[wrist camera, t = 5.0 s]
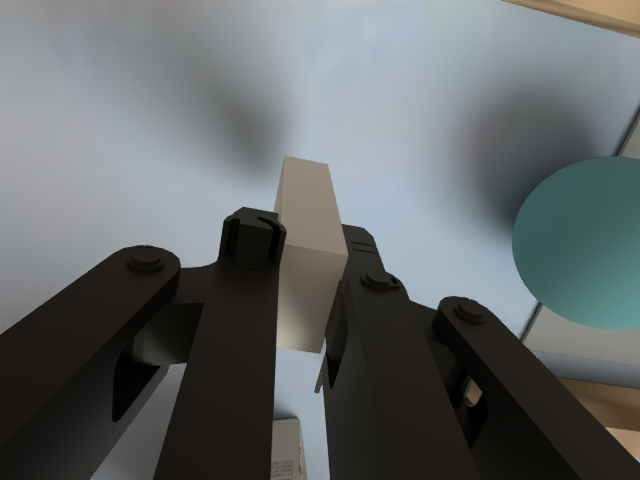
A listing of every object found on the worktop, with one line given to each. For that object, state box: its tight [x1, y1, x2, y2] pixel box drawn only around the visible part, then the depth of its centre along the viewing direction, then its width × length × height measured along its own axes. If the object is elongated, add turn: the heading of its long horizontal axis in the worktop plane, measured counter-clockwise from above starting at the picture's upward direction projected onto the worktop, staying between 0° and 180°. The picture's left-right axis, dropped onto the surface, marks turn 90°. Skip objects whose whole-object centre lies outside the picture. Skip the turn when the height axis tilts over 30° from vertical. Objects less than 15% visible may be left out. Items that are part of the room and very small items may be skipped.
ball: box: [512, 157, 640, 329], centre depth 16 cm, size 6×6×6 cm
